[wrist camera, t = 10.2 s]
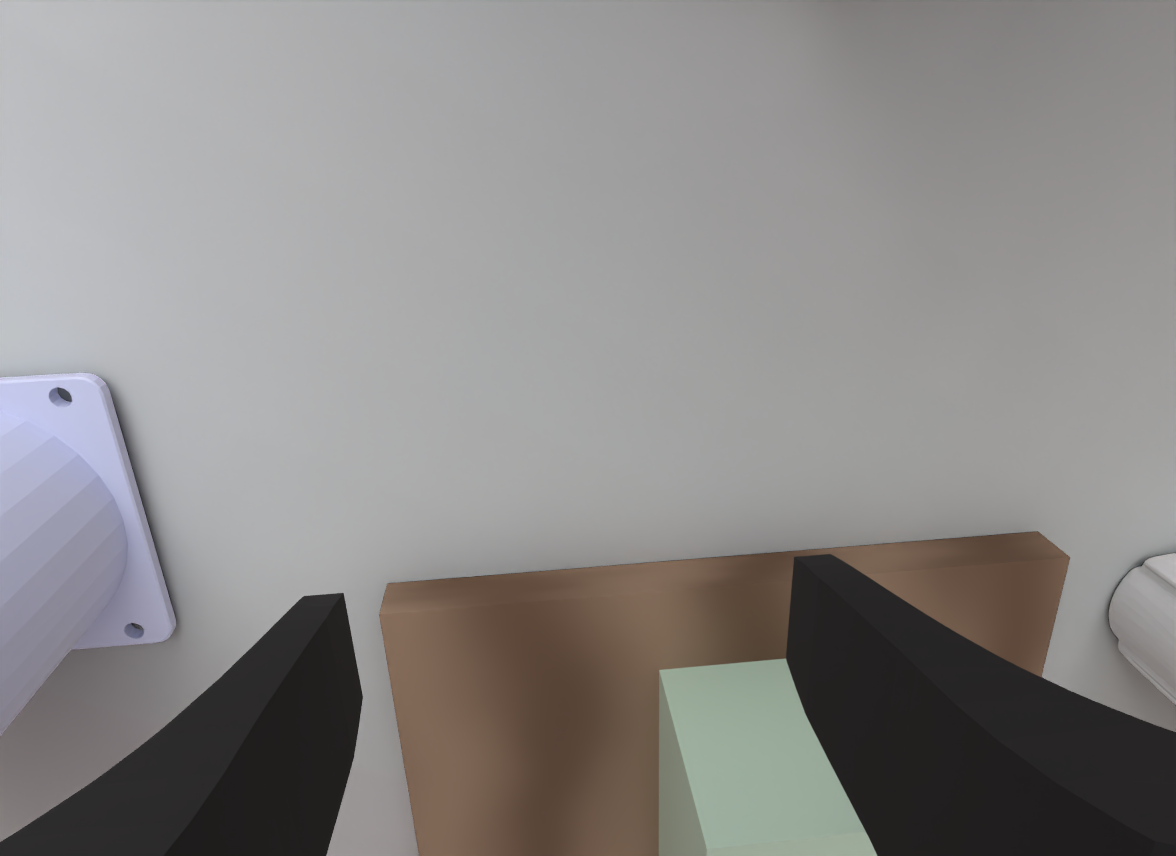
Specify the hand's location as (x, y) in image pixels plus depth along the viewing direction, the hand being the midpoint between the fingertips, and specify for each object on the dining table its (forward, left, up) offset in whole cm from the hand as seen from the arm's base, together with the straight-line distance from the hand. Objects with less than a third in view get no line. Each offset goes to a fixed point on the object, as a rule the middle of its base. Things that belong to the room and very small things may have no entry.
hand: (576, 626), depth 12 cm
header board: (+5, -12, -9) cm, 16 cm away
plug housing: (+5, -12, -8) cm, 15 cm away
